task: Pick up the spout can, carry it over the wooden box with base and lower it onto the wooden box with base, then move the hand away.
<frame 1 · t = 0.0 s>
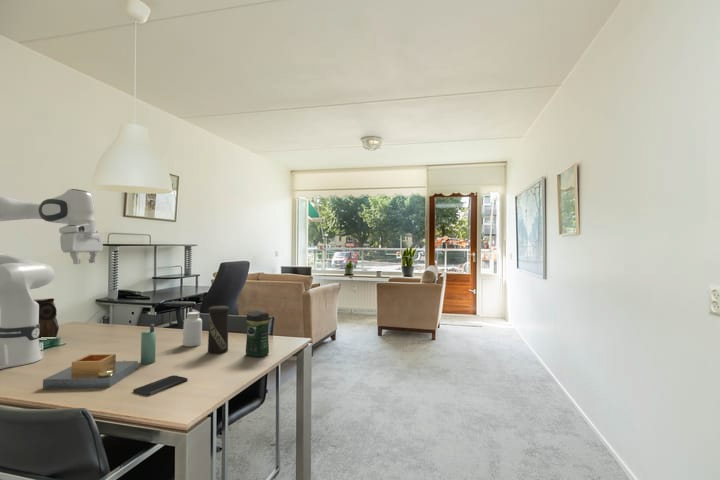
hand: (84, 263, 145), 39 cm above the table, tool pointing down, fingers open, 8 cm apart
coffee jar: (257, 355, 155), on the table
phone: (161, 387, 119), on the table
pill bottle: (192, 345, 170), on the table
wooden box with base: (94, 378, 125), on the table
container: (217, 351, 159), on the table
spout can: (147, 362, 143), on the table
owl: (44, 338, 178), on the table
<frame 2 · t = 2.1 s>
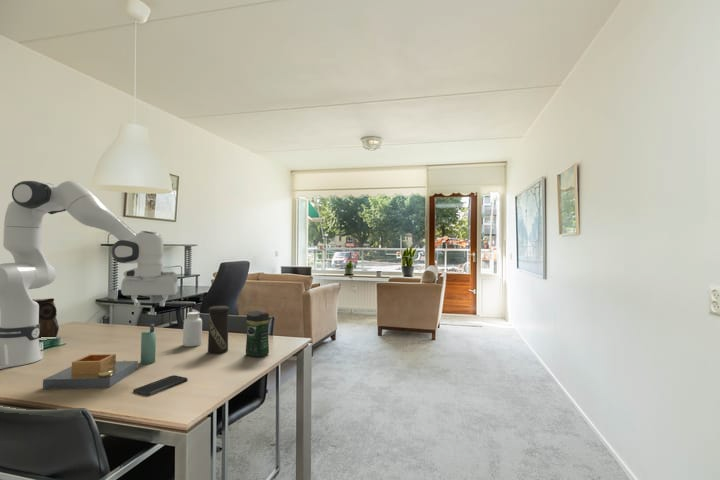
hand: (149, 306, 143), 22 cm above the table, tool pointing down, fingers open, 8 cm apart
nothing on the table moved.
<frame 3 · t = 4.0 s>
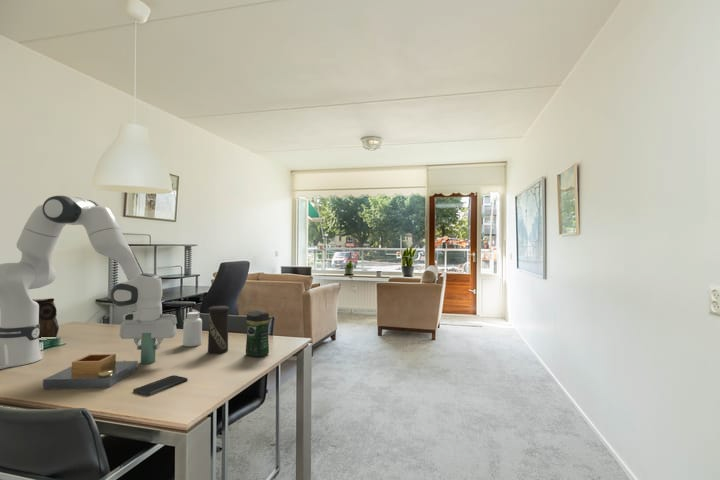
hand: (148, 349, 143), 5 cm above the table, tool pointing down, fingers closed on spout can, 5 cm apart
spout can: (147, 362, 143), on the table, touching gripper
everything else where it was.
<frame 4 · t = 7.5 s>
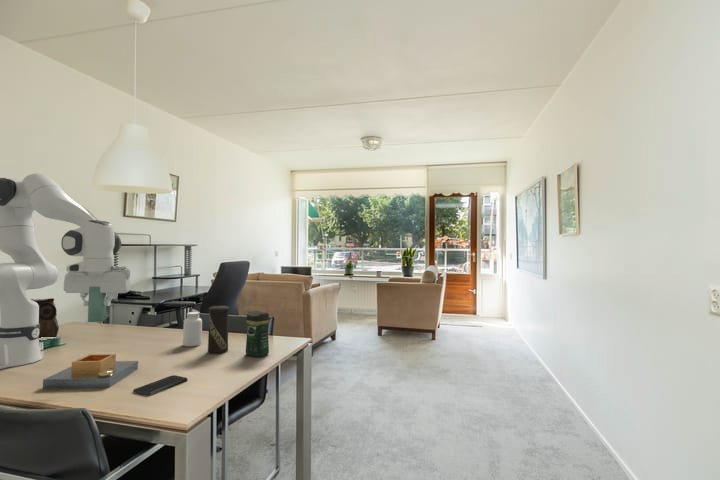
hand: (97, 305, 126), 25 cm above the table, tool pointing down, fingers closed on spout can, 5 cm apart
spout can: (96, 320, 126), point 20 cm above the table, touching gripper
everything else where it was.
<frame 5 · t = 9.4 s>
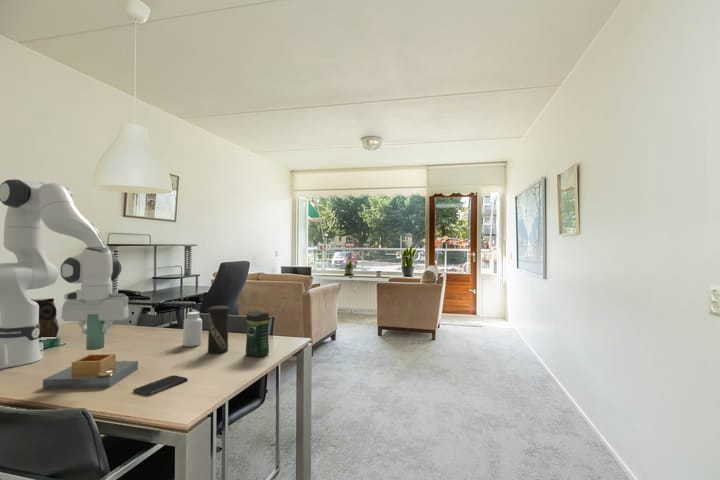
hand: (95, 333, 125), 15 cm above the table, tool pointing down, fingers closed on spout can, 5 cm apart
spout can: (95, 348, 125), point 10 cm above the table, touching gripper
everything else where it was.
when the fingers open (10 cm above the table, at t = 11.0 s): spout can drops 1 cm, resting on wooden box with base.
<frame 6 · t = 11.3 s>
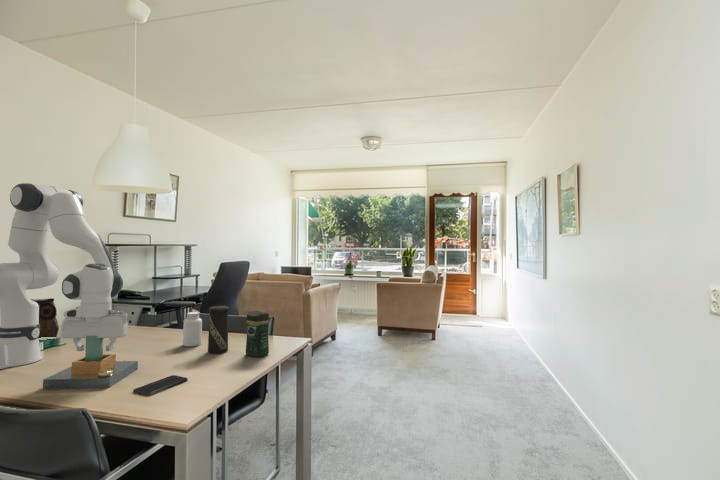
hand: (94, 350, 125), 10 cm above the table, tool pointing down, fingers open, 8 cm apart
spout can: (93, 369, 125), point 3 cm above the table, touching wooden box with base
everything else where it was.
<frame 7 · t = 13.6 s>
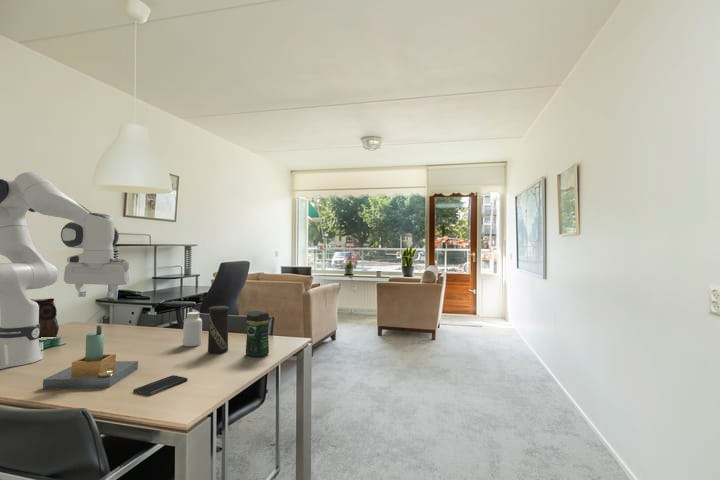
hand: (96, 297, 129), 28 cm above the table, tool pointing down, fingers open, 8 cm apart
nothing on the table moved.
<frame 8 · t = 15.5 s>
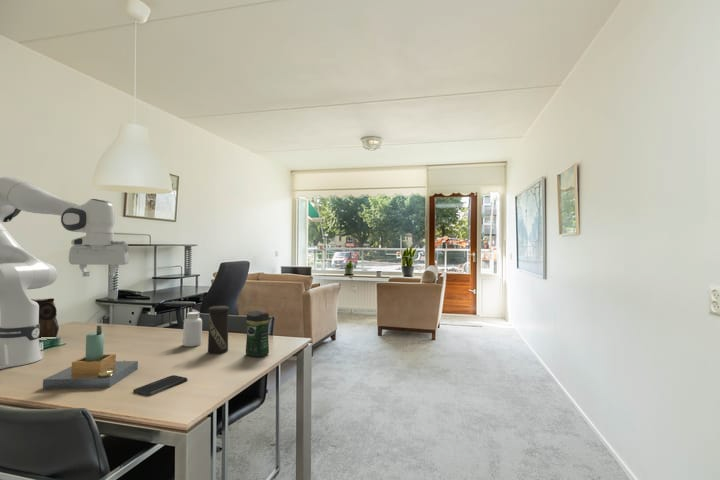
hand: (99, 276, 140), 34 cm above the table, tool pointing down, fingers open, 8 cm apart
nothing on the table moved.
at the end: spout can 0.1 cm off-centre on the wooden box with base, point 3.1 cm above the wooden box with base's base; spout can tilted 0°; the gripper is holding nothing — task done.
